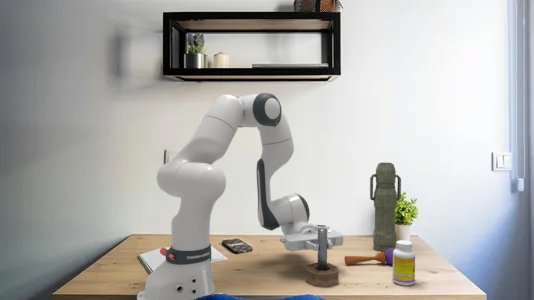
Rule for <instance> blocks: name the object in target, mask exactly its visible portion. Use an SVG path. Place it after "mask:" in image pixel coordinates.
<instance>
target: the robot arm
mask: <svg viewBox="0 0 534 300" xmlns="http://www.w3.org/2000/svg"><path fill="white" fill-rule="evenodd" d="M239 128H256V129H258V131H259V136H260V141H261V146H262V148H261V149H262V151H261V154H260V155H261V156H260V158H259V159H258V160H257V162H256V188H257V189H256V190H257V219H258V222H259V225H260V226H261V227H262V228H264V229H265V230H268V231H274V230H276V229H278V228H281V231H282V232H281V233H283V237H282V238H281V237H280V239H279V240H280V241H279V242H281V243H282V244H283V247H284V248H285V249H286V250H287V251H289V252H295V251H297V252H298V251H305V250H306V251H307V250H311V251H316V252H318V250H319V245H318V229H319V228H325V229H327V250H333V248H334V247H341V246H343V244H344V235H343V234H342V233H341V232H339V231H337V230H336V229H334V228H330V226H329V225H327V224H325V225H324V224H314V223H309V221H310V214H311V213H310V207H309V205H308V202H307V201H306V199H305V198H304V197H303V196H302V195H300V194H298V193H291V194H288V195H286V196H283V197H281V198H276V199H274V200H271V198H272V197H271V179H272V177H273V175H274V174H275V173H276V172H277V171H278V170H279V169H281V168H282V167H283V166H285V165H286V164H287V163H288V162H289V161H290V160H291V158H292V157H293V154H294V151H295V149H294V141H293V136H292V132H291V128H290V125H289V121H288V120H287V117H286V115H285V113H284V112H283V111H282V106H281V103H280V101H279V99H278V97H276V95H275V94H272V93H269V92H268V93H266V92H262V93H253V94H252V93H249V94H245V95H241V96H237V97H236V96H234V95H231V94H222V95H219V96H218V97H217V99H216V100H215V101H214V102H213V103H212V104H211V105H210V107H209V108H208V110H207V111H206V113H205V114H204V116H203V118H202V120H201V122H200V123H199V125H198V127H197V128H196V131H195V132H194V134H192V135H193V136H192V137H191V138H190V139H189V141H188V142H186V144H185V145H184V147H182V148H181V150H180V151H178V153H177V154H176V155H175V156H174V157H173V158H172V159H170V160H169V161H168V162H166V163H164V164H162V166H160V168H159V169H158V170H157V175H156V182H157V185H158V187H159V188H160V189H161V190H162V191H163V192H164V193H166V194H167V195H169V196H171V197H176V198H180V205H179V208H178V209H179V210H178V212H177V214H176V215H174V217H173V218H172V220H171V246H170V247H169V248H168V249H167V248H166V247H162V248H160V249H159V254H161V255H162V256H163V257H165V260H164V261H163V262H162V263H161V264H160V265H159V266H158V267H156V268H155V269H154V270H153V271H152V272H151V273H149V274H148V275H147V278H146V281H145V287H144V290H143V291H140V292H139V291H138V293H137V295H136V300H194V299H196V298H198V297H202V296H206V295H209V294H213V293H214V294H215V293H216V291H217V290H216V289H217V288H216V286H215V283H214V279H213V274H212V273H213V272H212V265H211V261H212V244H211V242H210V240H211V237H210V236H211V235H210V231H211V228H210V227H211V226H210V225H211V216H212V212H213V208H214V207H215V204H216V202H217V201H218V199H220V198H221V197H222V196H223V195H224V192H225V190H226V186H227V180H226V176H225V174H224V172H223V170H222V169H220V168H218V167H216V166H215V165H214V163H215V162H216V161H218V160H221V158H223V157H224V156H225V154H227V153H226V152H227V151H228V149H229V147H230V145H231V143H232V142H233V139H234V137H235V135H236V133H237V131H238V130H239ZM214 294H213V295H214Z"/></svg>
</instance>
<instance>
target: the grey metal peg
mask: <svg viewBox="0 0 534 300" xmlns="http://www.w3.org/2000/svg"><path fill="white" fill-rule="evenodd" d="M318 245H319V250H317V263H318V271H327V263H328V249H327V229H325V228H319V229H318Z"/></svg>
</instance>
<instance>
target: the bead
mask: <svg viewBox="0 0 534 300" xmlns="http://www.w3.org/2000/svg"><path fill="white" fill-rule="evenodd" d="M305 282H306V283H307V284H310V285H312V286H314V287H323V288H331V287H333V286H337V285H339V266H337V265H335V264H332V263H329V262H327V271H318V262H313V263H310V264H307V265H306V270H305Z"/></svg>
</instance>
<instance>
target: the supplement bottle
mask: <svg viewBox="0 0 534 300" xmlns="http://www.w3.org/2000/svg"><path fill="white" fill-rule="evenodd" d="M412 247H413V243H412V242H411V241H409V240H405V239H404V240H403V239H401V240H396V249H395V250H394V251H393V265H392V282H393V283H395V284H397V285H400V286H407V287H409V286H413V285H414V284H415V282H416V281H415V279H416V253H415V251H414V250H413V248H412Z"/></svg>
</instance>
